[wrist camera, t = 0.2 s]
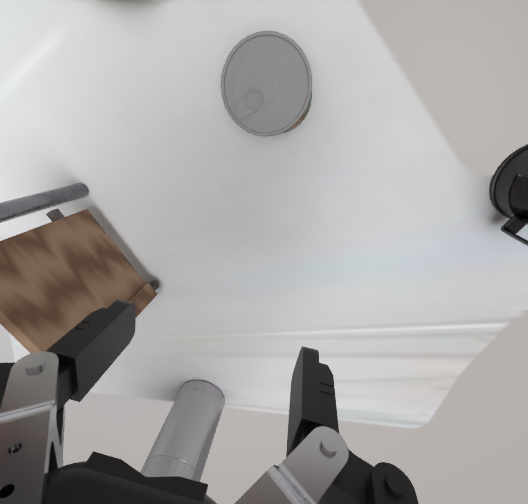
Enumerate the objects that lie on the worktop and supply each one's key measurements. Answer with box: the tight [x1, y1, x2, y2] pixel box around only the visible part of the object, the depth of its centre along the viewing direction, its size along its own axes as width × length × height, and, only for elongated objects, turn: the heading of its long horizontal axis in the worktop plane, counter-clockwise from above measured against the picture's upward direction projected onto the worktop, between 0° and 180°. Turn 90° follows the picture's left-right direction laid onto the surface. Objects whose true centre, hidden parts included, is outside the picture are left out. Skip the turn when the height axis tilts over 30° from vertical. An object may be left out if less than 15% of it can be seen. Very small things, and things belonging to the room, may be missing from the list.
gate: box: [0, 209, 159, 354], centre depth 36 cm, size 18×3×22 cm, turn 31°
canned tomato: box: [221, 31, 312, 136], centre depth 29 cm, size 8×8×11 cm
